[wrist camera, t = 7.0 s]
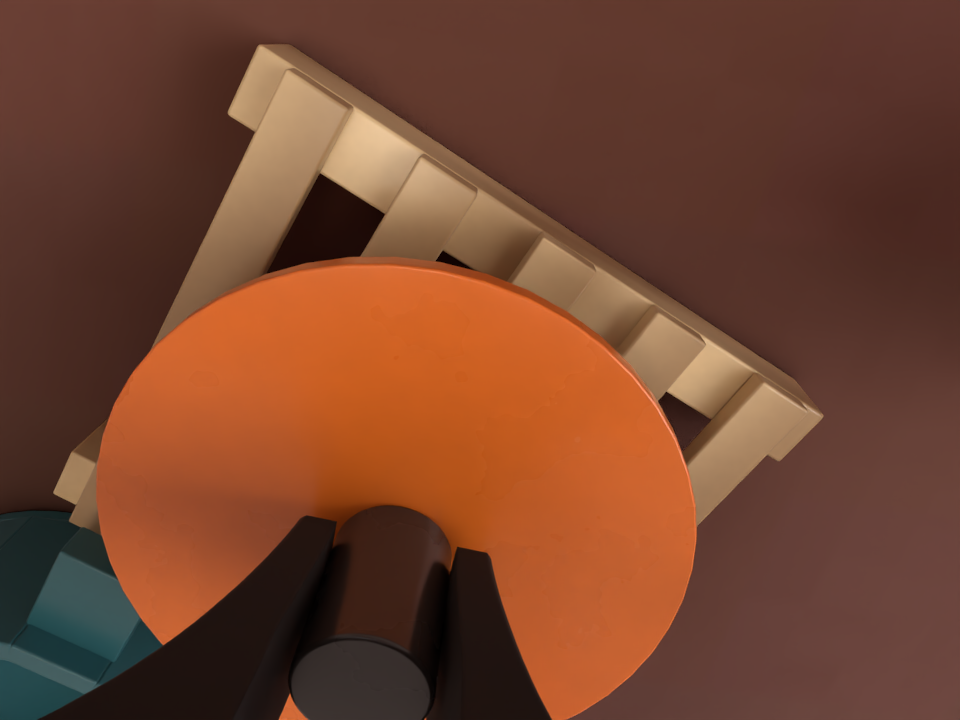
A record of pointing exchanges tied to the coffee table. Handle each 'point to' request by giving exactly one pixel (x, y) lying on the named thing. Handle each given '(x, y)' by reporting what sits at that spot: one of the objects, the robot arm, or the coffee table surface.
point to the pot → (60, 615)
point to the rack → (476, 243)
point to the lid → (402, 478)
